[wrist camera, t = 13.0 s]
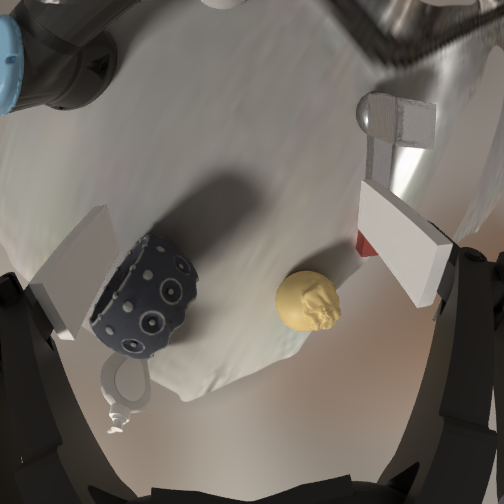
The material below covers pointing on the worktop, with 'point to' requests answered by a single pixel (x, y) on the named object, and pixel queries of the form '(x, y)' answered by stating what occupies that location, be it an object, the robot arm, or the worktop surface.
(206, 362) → the worktop surface
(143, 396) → the soap bottle
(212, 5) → the cup
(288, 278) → the sculpture
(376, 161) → the ratchet
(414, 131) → the frosted translucent cube
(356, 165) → the worktop surface
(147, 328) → the ring
